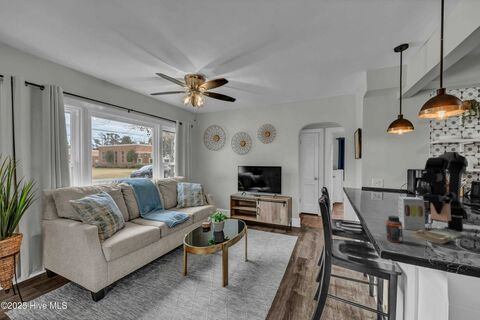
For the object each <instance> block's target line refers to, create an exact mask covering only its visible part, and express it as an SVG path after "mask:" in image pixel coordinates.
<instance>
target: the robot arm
mask: <svg viewBox="0 0 480 320" xmlns="http://www.w3.org/2000/svg"><path fill="white" fill-rule="evenodd" d="M467 167H469V161H468V160H467V158H466V157H465V156H464V155H461V154H460V153H458V151H446V152H443V153H442V154H441V155H438V156H436V157H435V156H434V157H429V158H428V159H427V160H426V162H425V166H424V169H423V171H425V172H424V173H423V174H422V177H421V179H422V181H423V182H424V183H426V184H428V186H427V187H424V186H418V187H416V193H417V194H418V195H419V196H422V199H423V200H424V201H428V202H429V203H432V204H433V206H434V208H435V210H436V212H437V214H440V213H441V211H442V208H443V206H444V203H446V204H450V210H451V221H447V226H445V227H444V229H447V230H453V231H456V232H457V231H458V232H464V231H467V228H464V220H465V221H466V220H469V215H468V213H467V211H466V208H465V204H463V202H462V201H461V189H462V188H461V187H462V175H463V174H464V173H466V171H467ZM447 172H448V173H449V175H448V177H449V179H448V180H447V178H448V177H447Z"/></svg>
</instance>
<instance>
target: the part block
mask: <svg viewBox="0 0 480 320" xmlns="http://www.w3.org/2000/svg"><path fill="white" fill-rule="evenodd" d="M429 203H430V214H431V215H430V216H431V217H430V219H432V220H437V221H442V222H448V221H451V210H450V204H446V203H444V206H443V208H442V211H441V213H440V214H437V212H436V210H435V208H434V206H433V204H432V203H431V202H429Z"/></svg>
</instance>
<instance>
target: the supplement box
mask: <svg viewBox="0 0 480 320" xmlns="http://www.w3.org/2000/svg"><path fill="white" fill-rule="evenodd" d="M397 209H398V214H397V215H398V217H399V221H400V222H401V223H402V229H404V230H410V231H411V230H412V231H419V230H424V231H426V221H425V220H426V216H425V200H423V198H419V197H415V196H397Z"/></svg>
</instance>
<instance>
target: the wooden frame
mask: <svg viewBox="0 0 480 320" xmlns="http://www.w3.org/2000/svg"><path fill="white" fill-rule="evenodd" d="M429 231H430V230H425V231H424V230H414V231H412V232H411V237H412V238H417V239H418V240H419V239H420V240H423V241H428V242H432V243H436V244H440V245H443V244H446V243H448V242H451V241H452V239H451V236H447V235H443V234H438V233H433V232H429Z"/></svg>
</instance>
